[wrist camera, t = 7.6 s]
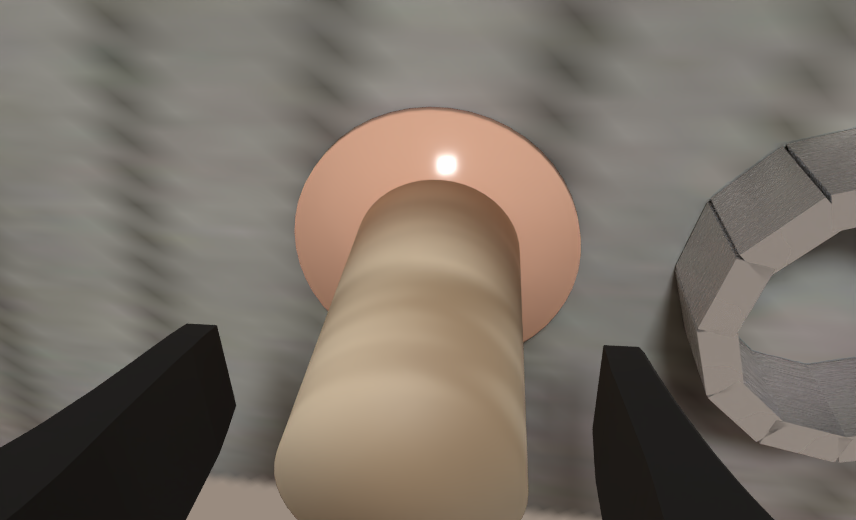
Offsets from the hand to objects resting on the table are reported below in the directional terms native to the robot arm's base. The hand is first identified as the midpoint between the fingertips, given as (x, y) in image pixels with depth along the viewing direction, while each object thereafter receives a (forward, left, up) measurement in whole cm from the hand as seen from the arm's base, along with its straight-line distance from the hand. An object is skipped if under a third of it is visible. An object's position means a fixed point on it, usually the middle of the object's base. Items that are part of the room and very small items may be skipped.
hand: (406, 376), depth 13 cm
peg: (0, 0, -5) cm, 5 cm away
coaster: (0, 0, -5) cm, 5 cm away
